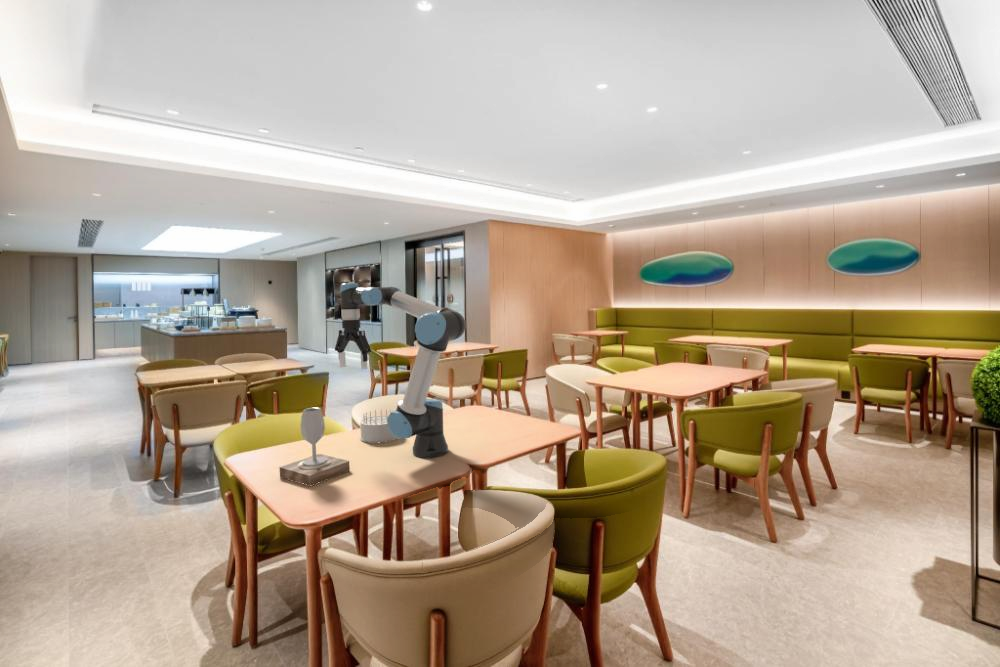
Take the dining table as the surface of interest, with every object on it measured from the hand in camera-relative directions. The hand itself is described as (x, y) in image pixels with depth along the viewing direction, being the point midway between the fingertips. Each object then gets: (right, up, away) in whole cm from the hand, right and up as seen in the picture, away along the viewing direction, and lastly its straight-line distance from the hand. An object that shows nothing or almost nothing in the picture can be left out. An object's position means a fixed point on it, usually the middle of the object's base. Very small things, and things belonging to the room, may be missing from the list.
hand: (353, 368), depth 219 cm
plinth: (-7, -39, -25) cm, 47 cm away
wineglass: (-8, -35, -25) cm, 44 cm away
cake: (+6, -35, +22) cm, 42 cm away
